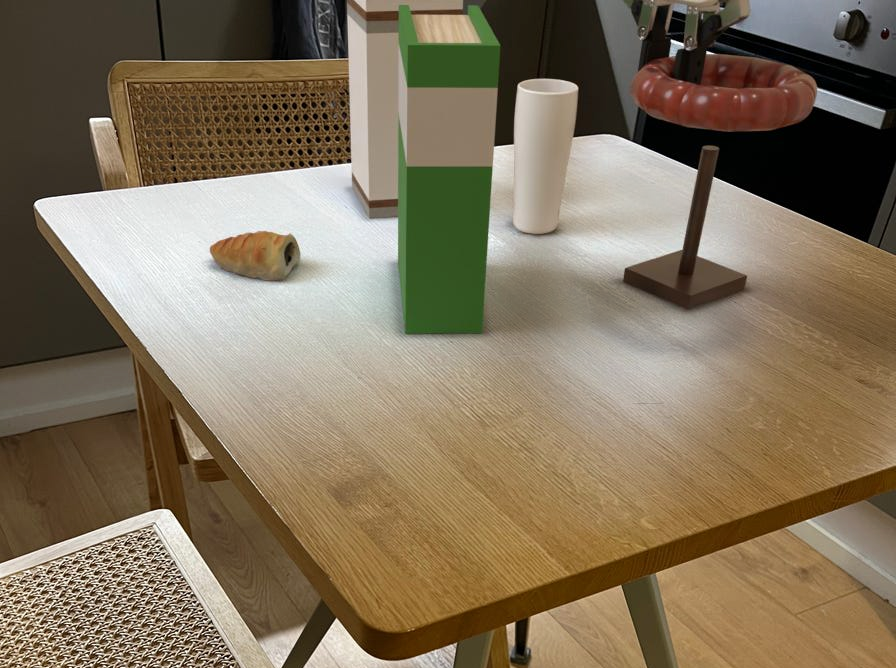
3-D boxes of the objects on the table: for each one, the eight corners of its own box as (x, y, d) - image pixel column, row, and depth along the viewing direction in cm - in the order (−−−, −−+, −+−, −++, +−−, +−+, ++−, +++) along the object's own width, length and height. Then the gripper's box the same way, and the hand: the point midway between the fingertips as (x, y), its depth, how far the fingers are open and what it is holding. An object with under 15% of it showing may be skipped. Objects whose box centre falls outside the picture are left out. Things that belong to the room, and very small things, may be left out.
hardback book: (397, 263, 106) (398, 4, 90) (465, 263, 106) (478, 5, 90) (405, 333, 93) (407, 44, 77) (482, 333, 93) (500, 45, 77)
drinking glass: (554, 216, 118) (569, 77, 108) (570, 236, 113) (587, 92, 103) (500, 219, 117) (510, 79, 107) (514, 239, 112) (525, 94, 102)
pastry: (201, 273, 103) (196, 236, 101) (227, 251, 108) (223, 216, 105) (283, 283, 101) (280, 246, 99) (306, 261, 106) (304, 225, 104)
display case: (454, 212, 118) (469, -157, 95) (369, 218, 116) (363, -158, 93) (432, 183, 127) (440, -164, 103) (352, 188, 125) (342, -164, 101)
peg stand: (744, 289, 102) (778, 151, 93) (687, 310, 98) (717, 167, 89) (678, 263, 107) (704, 129, 98) (622, 281, 103) (644, 144, 94)
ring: (846, 116, 82) (857, 76, 80) (735, 146, 75) (744, 103, 73) (705, 80, 90) (712, 43, 88) (593, 105, 83) (598, 65, 81)
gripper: (832, -170, 71) (768, 108, 83) (660, -180, 80) (625, 72, 92) (770, -169, 67) (712, 122, 79) (598, -179, 77) (570, 83, 89)
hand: (666, 93), depth 86 cm, fingers closed on ring, 3 cm apart
